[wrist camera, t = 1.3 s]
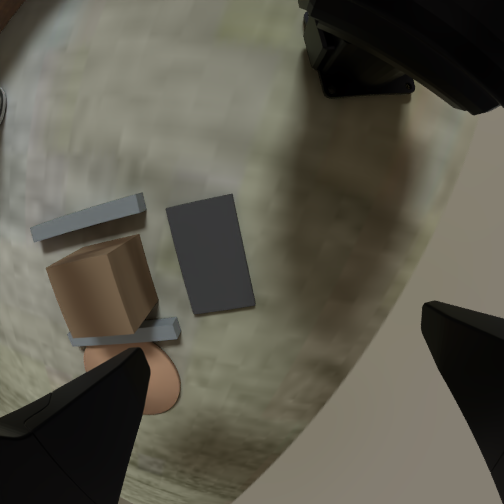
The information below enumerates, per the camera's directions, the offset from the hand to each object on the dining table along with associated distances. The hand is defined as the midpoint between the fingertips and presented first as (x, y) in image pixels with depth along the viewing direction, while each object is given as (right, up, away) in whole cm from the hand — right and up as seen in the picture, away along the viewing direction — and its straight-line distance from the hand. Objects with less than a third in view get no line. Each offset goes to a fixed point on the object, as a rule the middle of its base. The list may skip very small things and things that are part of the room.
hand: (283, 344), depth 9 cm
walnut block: (-11, +1, +12) cm, 16 cm away
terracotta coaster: (-11, -8, +15) cm, 20 cm away
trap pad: (-4, +2, +12) cm, 13 cm away
